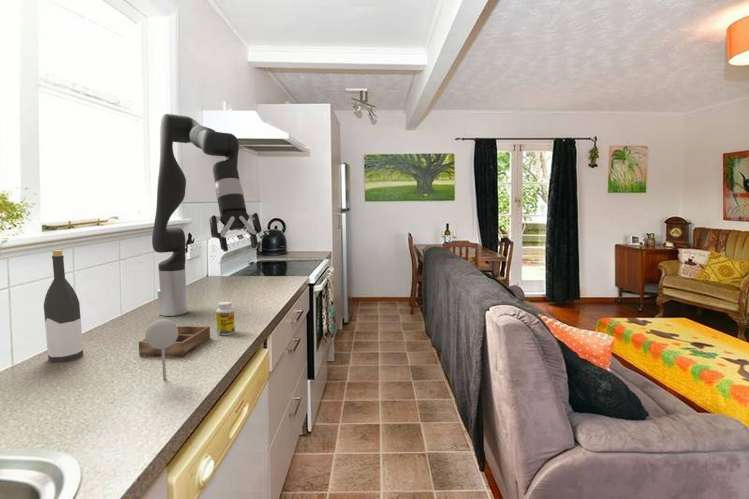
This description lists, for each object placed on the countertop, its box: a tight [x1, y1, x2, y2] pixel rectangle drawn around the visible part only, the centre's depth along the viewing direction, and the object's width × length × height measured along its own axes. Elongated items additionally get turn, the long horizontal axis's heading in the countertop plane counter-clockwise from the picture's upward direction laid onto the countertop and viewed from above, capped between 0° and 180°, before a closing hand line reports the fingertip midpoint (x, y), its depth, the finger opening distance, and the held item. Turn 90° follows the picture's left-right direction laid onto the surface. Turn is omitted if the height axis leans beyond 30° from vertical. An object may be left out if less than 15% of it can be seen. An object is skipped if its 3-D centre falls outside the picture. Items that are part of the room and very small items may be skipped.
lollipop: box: [145, 318, 178, 381], centre depth 104 cm, size 7×7×15 cm
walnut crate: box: [138, 325, 211, 358], centre depth 128 cm, size 13×16×4 cm
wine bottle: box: [43, 249, 84, 363], centre depth 118 cm, size 8×8×30 cm
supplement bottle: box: [215, 301, 236, 336], centre depth 141 cm, size 6×6×10 cm
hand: (240, 249), depth 125 cm, fingers open, 8 cm apart
